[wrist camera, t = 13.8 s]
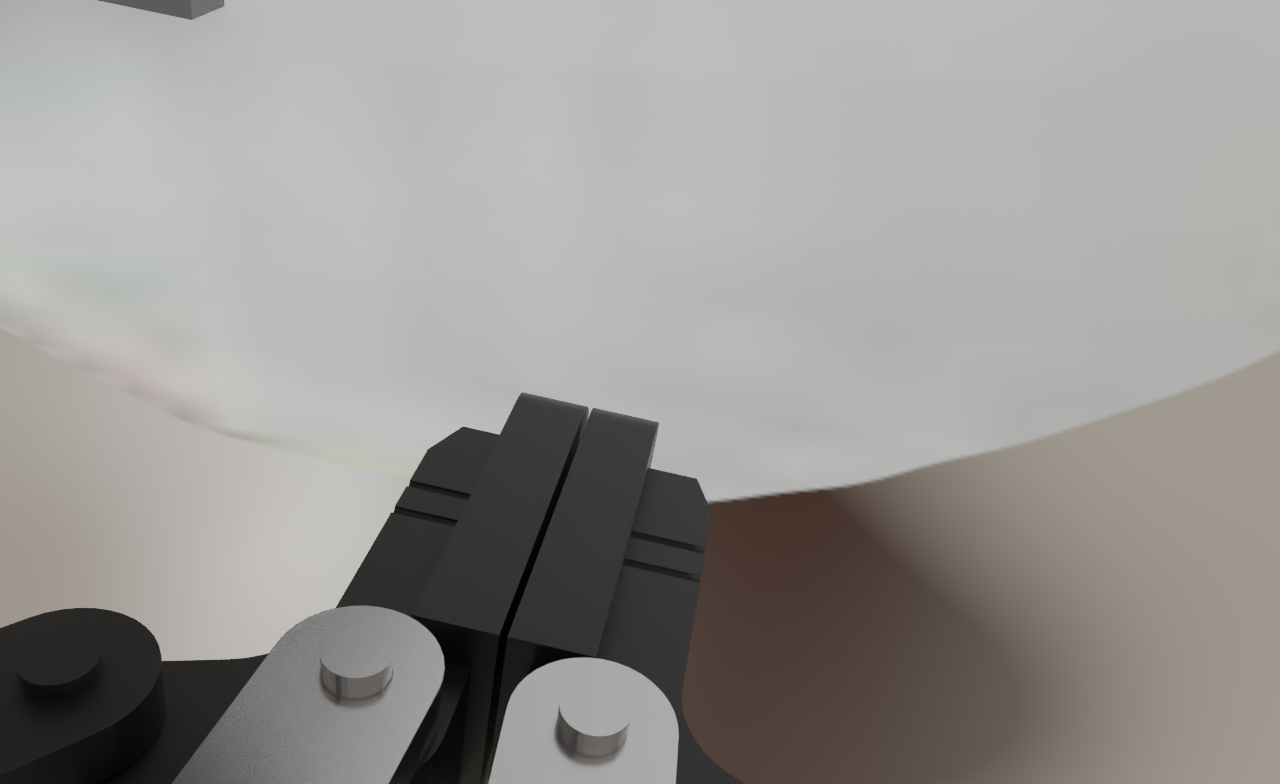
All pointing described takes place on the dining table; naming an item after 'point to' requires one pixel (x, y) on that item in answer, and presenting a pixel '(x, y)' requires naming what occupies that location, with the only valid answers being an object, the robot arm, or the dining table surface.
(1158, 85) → the dining table surface
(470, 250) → the dining table surface
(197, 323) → the dining table surface
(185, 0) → the rack
